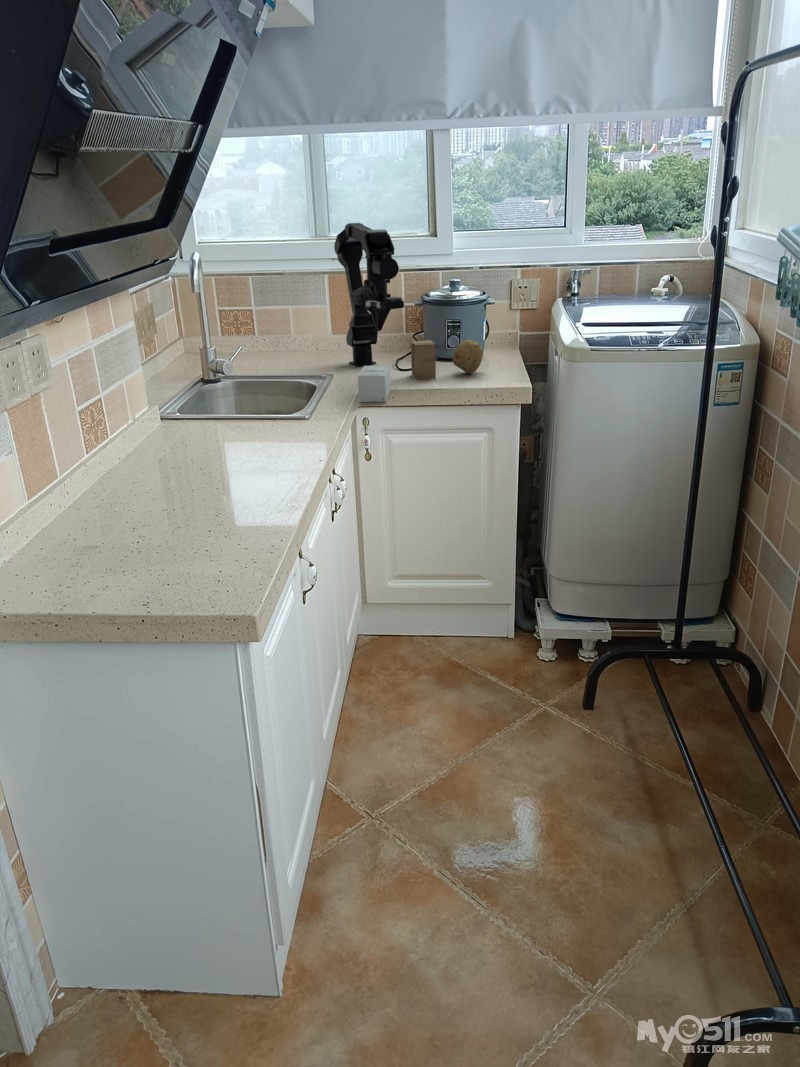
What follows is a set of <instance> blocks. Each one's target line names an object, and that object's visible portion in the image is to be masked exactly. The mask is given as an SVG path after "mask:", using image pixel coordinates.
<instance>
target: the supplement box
mask: <svg viewBox="0 0 800 1067" xmlns="http://www.w3.org/2000/svg"><path fill="white" fill-rule="evenodd" d="M357 380H358V382H357V384H358V385H357V386H358V390H357V391H358V392H357V393H358V403H386V402H387V400H388V398H389V395H390V393H391V366H390V365H365V366H362V369H361V371H360V372H359V374H358V376H357Z"/></svg>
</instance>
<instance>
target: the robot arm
mask: <svg viewBox="0 0 800 1067" xmlns="http://www.w3.org/2000/svg"><path fill="white" fill-rule="evenodd" d="M390 236H391V235H390V234H389V233H388V230H386V229H385V228H381V229H372V228H370V227H369V226H366V225H364V224H363V223H361V222H351V223H347V224H346V225H345V226H344V229H343V230H342V231H340V232H339V233H338V234H337V235H336V239H335V241H334V246H333V247H334V248H333V249H334V252H335V255H336V257H337V261H338V262H339V264H340V265H341V266H342V267H343V268H344V272H345V275H346V276H345V277H346V283H347V289H348V294H349V301H350V306H351V312H352V316H351V318H350V320H349V325H348V326H349V328H348V331H347V334H346V337H345V340H346V345H347V346H350V347H352V361H349V362H348V363H349V365H350V364H351V365H353V366H356V367H364V366H372V365H375V364H377V361H374V360H373V350H372V349H373V348H372V345H377V343H378V336H379V335H378V334H379V332H381V331H382V329H383V327H384V325H385V324H386V323H385V322H386V320H387V318H388V316H389V314H390V312H391V310H396V309H397V310H398V309H404V308H405V301H404V299H403V298H402V297H400V296H399V297H398V296H392V295H391V293H388V284H390V283H391V280H392V279H394V278H395V277H396V276H397V275H398V274H399V269H400V266H399V263H398V262H397V261H396V259H394V258H392V257H393V256H394V255H395V245H394V243H393V241H392V238H391V237H390ZM363 253H365V259H366V279H364V281H363V279H362V278H363V277H362V273H361V267H360V263H361V260H362V258H363V255H364V254H363Z"/></svg>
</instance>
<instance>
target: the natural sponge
mask: <svg viewBox="0 0 800 1067" xmlns="http://www.w3.org/2000/svg"><path fill="white" fill-rule="evenodd" d="M483 356H484V350H483V347H482V346H481V345H480V344H479V342H477V341H474V340H470V339H467V340H463V341H462V342H460V343H459V344H458V345H457V347H456V348H455V350H454V352H453V355H452V363H453V365H454V366H456V367H457V368H459V369H461V370H462V371H463V372H464V373H465V374H467V375H472V374H474V373H476V371H477V370H478V369H479V367H480V366H481V363H482V361H483Z"/></svg>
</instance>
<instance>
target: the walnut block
mask: <svg viewBox="0 0 800 1067" xmlns="http://www.w3.org/2000/svg"><path fill="white" fill-rule="evenodd" d="M410 350H411V352H410V354H411V356H410V357H411V376H412V378H414V379H415V380H416V381H417V380H428V379H436V377H437V375H436V373H437V372H436V371H437V368H436V367H437V366H436V360H437V358H436V357H437V356H436V351H437V350H436V343H435V342H434V341H433V340H429V339H428V340H415V341H414V340H413V341H410Z"/></svg>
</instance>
